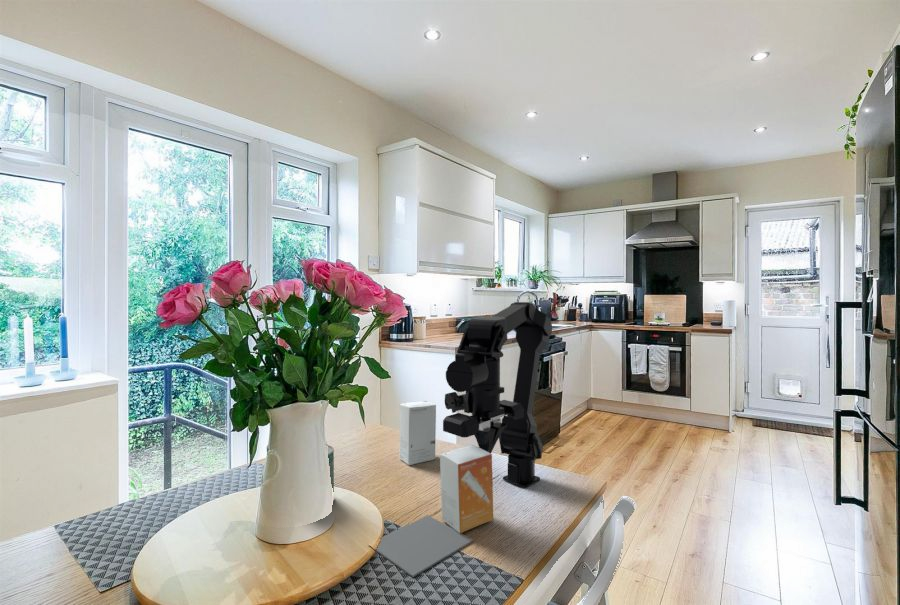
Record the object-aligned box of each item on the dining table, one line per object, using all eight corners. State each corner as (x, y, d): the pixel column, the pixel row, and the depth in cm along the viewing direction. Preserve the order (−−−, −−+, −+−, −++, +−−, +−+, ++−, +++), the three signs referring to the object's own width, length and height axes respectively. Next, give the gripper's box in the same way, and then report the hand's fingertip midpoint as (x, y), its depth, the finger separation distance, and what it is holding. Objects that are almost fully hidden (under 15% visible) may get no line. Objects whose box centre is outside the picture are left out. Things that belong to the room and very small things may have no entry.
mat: (427, 516, 86) (427, 515, 86) (473, 541, 77) (473, 539, 77) (368, 545, 76) (368, 543, 76) (412, 577, 67) (412, 575, 67)
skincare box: (408, 466, 111) (408, 408, 110) (398, 458, 116) (398, 403, 115) (436, 459, 115) (437, 403, 115) (425, 452, 120) (425, 399, 120)
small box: (460, 535, 79) (457, 464, 78) (441, 519, 84) (438, 453, 83) (494, 520, 83) (492, 453, 83) (474, 506, 88) (472, 443, 88)
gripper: (485, 370, 99) (484, 438, 99) (423, 383, 86) (423, 461, 86) (525, 377, 91) (525, 451, 92) (464, 392, 78) (464, 478, 78)
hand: (485, 459), depth 87 cm, fingers closed
